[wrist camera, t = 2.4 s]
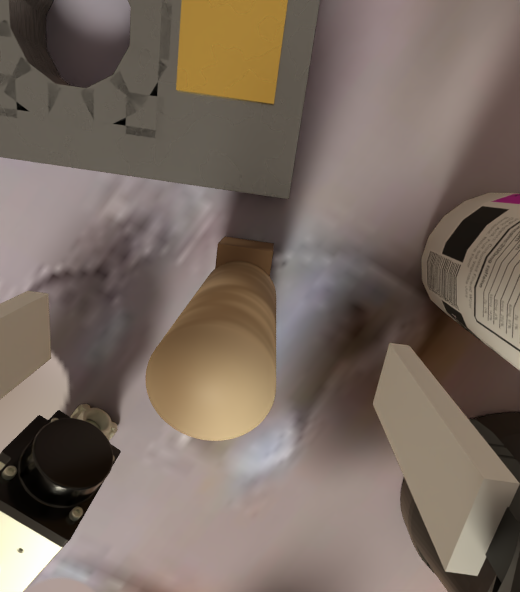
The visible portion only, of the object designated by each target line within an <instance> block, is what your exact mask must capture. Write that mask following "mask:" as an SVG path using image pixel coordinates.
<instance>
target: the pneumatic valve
mask: <svg viewBox="0 0 520 592" xmlns="http://www.w3.org/2000/svg"><path fill="white" fill-rule="evenodd" d="M116 432H117V424H116V423H114V422H111V418H110V417H109V415H108V414H107V413H106V412H105V411H103V410H101V409H99V408H90V406H89V405H88V404H81V405H79V406H78V407H77V409H76V410H75V411H74V412H73V414H72V415H71V416H70V417H69V416H67V415H66V414H64V413H63V412H61V411H60V410H58V411H57V412H56V413H55V414H54V415H53V416H52V417H51V418H50V419H49V420H47V419H45V418H43V417H42V416H40V415H39V416H37V417H36V418H35V419H34V420H33V421H32V422H31V423H30V424H29V425H28V426H27V427H26V428H25V429H24V430H23V431H22V432H21V433H20V434H19V435H18V436H17V437H16V438H15V439H14V440H13V441H12V442H11V443H10V444H9V445H8V446H7V447H6V448H5V449H4V450H3V451H2V452H1V454H0V592H23V591H24V590H25V589H26V588H27V587H28V586H29V585H30V584H31V583H32V581H33V580H34V579H35V578H36V577H37V576H38V575H39V574H40V572H41V571H42V570H43V569H44V568H45V567H46V566H47V565H48V564H49V562H50V561H51V560H52V559H53V558H54V557H55V556H56V555H57V553H58V552H59V551H60V550H61V549H62V548H63V547H64V546H65V545H66V543H67V542H68V541H69V540H70V539H71V537H72V535H73V534H74V532H75V530H76V528H77V527H78V525H79V523H80V521H81V520H82V518H83V516H84V514H85V513H86V511H87V509H88V508H89V506H90V504H91V502H92V501H93V499H94V497H95V495H96V494H97V492H98V490H99V489H100V487H101V485H102V483H103V482H104V480H105V478H106V477H107V476H108V474H109V473H110V471H111V468H112V466H113V464H114V463H115V461H116V459H117V457H118V456H119V454H120V452H121V451H120V450H119V449H117V448H116V447H114V446H113V445H111V444H110V442H109V440H110V439H111V438H112V437H113V435H114V434H115V433H116Z"/></svg>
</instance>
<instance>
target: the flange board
mask: <svg viewBox="0 0 520 592" xmlns="http://www.w3.org/2000/svg"><path fill="white" fill-rule="evenodd" d="M52 2H53V0H0V157H4V158H11V159H17V160H24V161H31V162H38V163H45V164H52V165H59V166H65V167H72V168H79V169H86V170H93V171H100V172H106V173H113V174H120V175H127V176H134V177H141V178H148V179H154V180H161V181H168V182H175V183H182V184H189V185H196V186H202V187H209V188H216V189H223V190H230V191H237V192H243V193H250V194H257V195H264V196H271V197H278V198H285V199H289V194H290V187H291V181H292V175H293V168H294V162H295V156H296V149H297V143H298V137H299V130H300V124H301V117H302V111H303V105H304V98H305V92H306V86H307V79H308V73H309V67H310V60H311V54H312V48H313V41H314V35H315V29H316V22H317V16H318V10H319V3H320V0H128V2H129V4H130V7H131V17H130V46H129V48H128V49H127V51H126V53H125V55H124V56H123V58H122V60H121V62H120V64H119V65H118V67H117V69H116V71H115V72H114V74H113V75H111V76H109V77H108V78H106V79H104V80H102V81H100V82H98V83H96V84H94V85H92V86H90V87H88V88H81V87H74V86H70V85H69V84H68V83H66V82H65V81H64V80H63V79H61V77H60V75H59V73H58V71H57V69H56V67H55V65H54V63H53V61H52V59H51V57H50V55H49V53H48V51H47V49H46V18H45V16H46V14H47V12H48V10H49V8H50V6H51V4H52Z"/></svg>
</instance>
